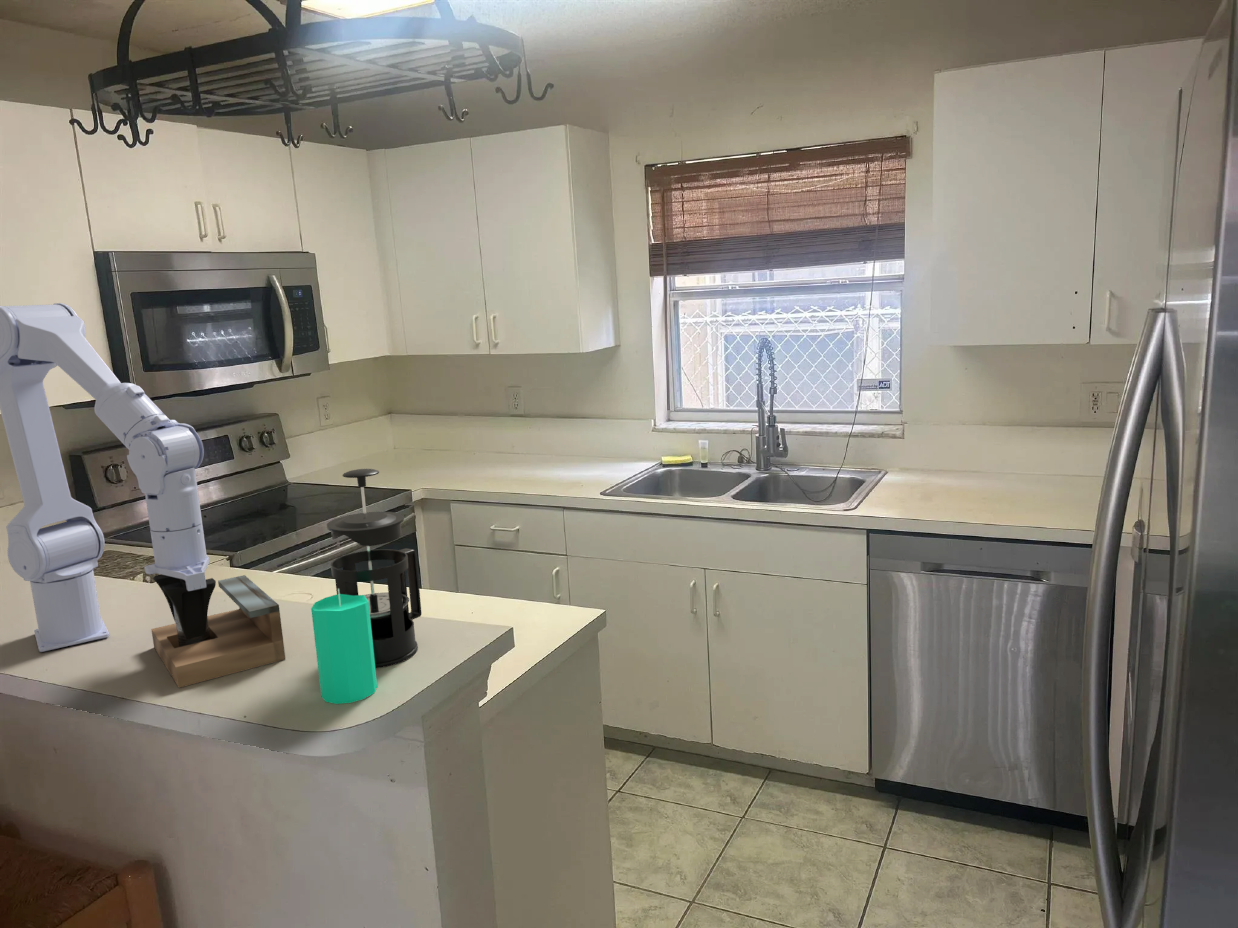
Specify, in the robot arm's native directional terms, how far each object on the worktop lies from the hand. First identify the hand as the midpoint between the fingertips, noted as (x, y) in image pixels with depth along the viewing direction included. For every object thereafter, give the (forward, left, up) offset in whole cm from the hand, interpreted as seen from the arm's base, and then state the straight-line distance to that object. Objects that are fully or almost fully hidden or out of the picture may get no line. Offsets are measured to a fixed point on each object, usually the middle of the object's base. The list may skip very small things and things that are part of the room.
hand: (191, 631), depth 111 cm
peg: (0, 0, -2) cm, 2 cm away
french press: (+15, +19, -3) cm, 24 cm away
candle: (+24, +11, -3) cm, 26 cm away
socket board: (+1, +3, -3) cm, 4 cm away
